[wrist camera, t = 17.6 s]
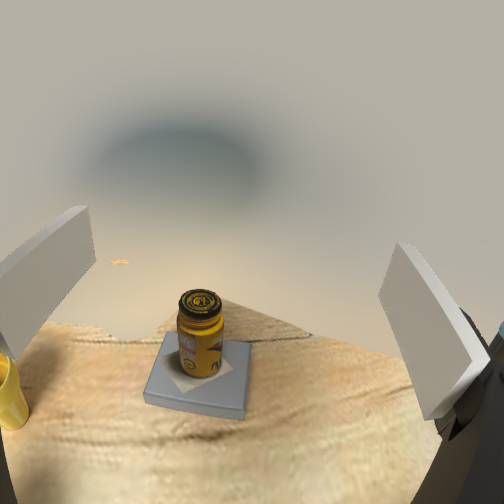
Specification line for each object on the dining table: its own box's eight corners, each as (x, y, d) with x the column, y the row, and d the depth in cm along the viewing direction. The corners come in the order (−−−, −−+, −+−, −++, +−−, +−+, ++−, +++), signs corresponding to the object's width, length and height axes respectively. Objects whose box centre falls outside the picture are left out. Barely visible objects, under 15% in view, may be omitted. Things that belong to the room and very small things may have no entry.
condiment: (233, 369, 41) (239, 306, 35) (182, 394, 36) (176, 332, 31) (206, 339, 46) (206, 276, 40) (158, 359, 41) (148, 295, 35)
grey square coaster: (250, 353, 48) (252, 341, 47) (243, 420, 37) (245, 409, 35) (168, 341, 48) (166, 329, 47) (145, 403, 37) (142, 391, 35)
